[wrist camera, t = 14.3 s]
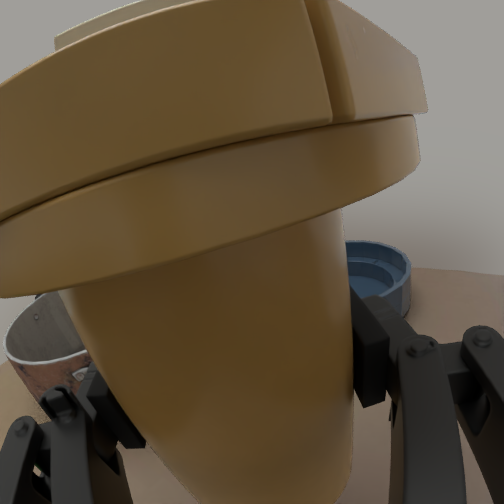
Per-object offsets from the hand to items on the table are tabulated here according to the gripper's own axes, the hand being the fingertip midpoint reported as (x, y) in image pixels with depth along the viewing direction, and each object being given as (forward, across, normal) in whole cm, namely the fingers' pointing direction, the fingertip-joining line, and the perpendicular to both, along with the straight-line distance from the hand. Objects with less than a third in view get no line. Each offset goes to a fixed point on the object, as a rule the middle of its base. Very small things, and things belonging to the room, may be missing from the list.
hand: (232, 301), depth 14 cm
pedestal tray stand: (-5, 0, +6) cm, 8 cm away
